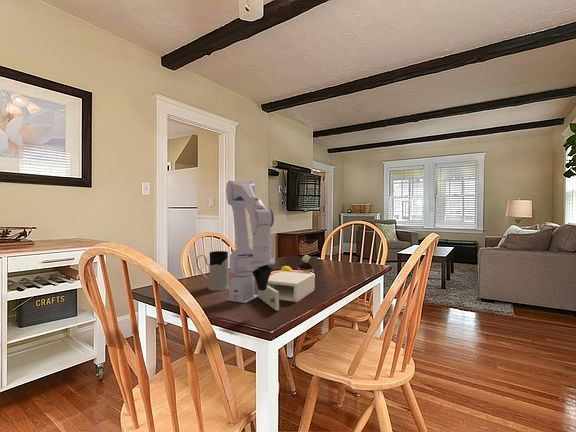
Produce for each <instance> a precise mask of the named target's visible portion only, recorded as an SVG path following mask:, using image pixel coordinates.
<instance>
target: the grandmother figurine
mask: <svg viewBox="0 0 576 432" xmlns="http://www.w3.org/2000/svg"><path fill="white" fill-rule="evenodd" d="M301 261H303V262H302V263H301V264H299V265H298V268H297V271H298V272H300V271H301V269H302V272H301V273H307V274H315V271H314V267H313V266H312V264H310V263H309V262H310V256H309V255H308V254H304V255H303V256H302V258H301Z"/></svg>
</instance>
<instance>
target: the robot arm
mask: <svg viewBox="0 0 576 432" xmlns="http://www.w3.org/2000/svg"><path fill="white" fill-rule="evenodd" d="M255 186H256V185H255V183H254V181H253V180H249V181H247V180H244V181H243V180H231V179H230V180H228V181H227V183H226V187H225V188H226V189H225V194H226V201H227V205H230V206H231V209H232V215H233V225H234V234H235V245H236V247H235V248H236V249H235V250H233V251H231V253H230V254H229V270H230V273H231V274H232V275H234V276H233V278H231V279H230V281H229V282H228V284H229V289H228V295H229V296H228V298H227V301H228V302H229V301H230V302H237V303H242V304H246V303H248V302H251V301H252V300H254V299H257V298H259V297H258V294H255V282H256V284H257V285H256V286H257V291H258V290H262V291H264V290H266V288H267V283H268V279H269V276H271V273H272V272H273V269H274V268H273V266H271V265H275V264H276V258H275V257H272V229H271V228H272V227H273V226H274V222H275V216H274V215H275V214H274V211H273V209H272V208H269V207H266V206H265V205H264V202H263V201H262V199H260V198H259V197H258V196H256V195H255V192H256V187H255ZM246 212H247V213H248V215H249V223H250V228H251V229H250V231H251V233H252V248H251V247H250V239H249V232H248V230H249V229H248V224H247V223H248V222H247V213H246Z"/></svg>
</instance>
